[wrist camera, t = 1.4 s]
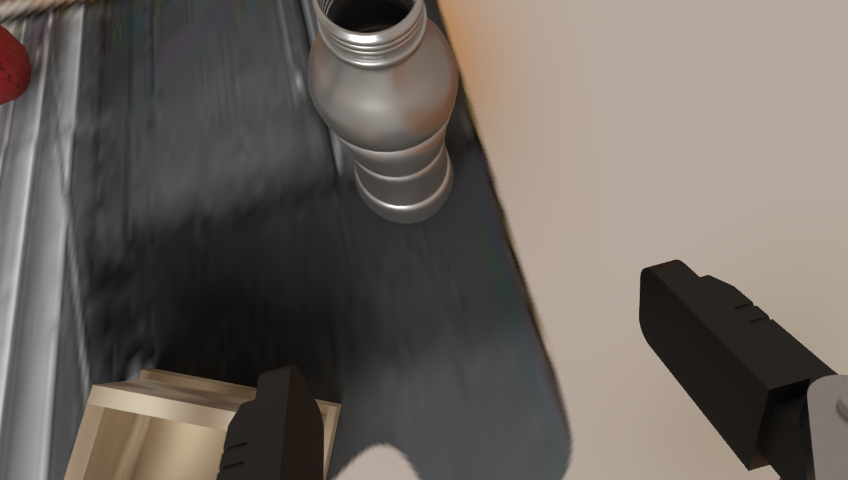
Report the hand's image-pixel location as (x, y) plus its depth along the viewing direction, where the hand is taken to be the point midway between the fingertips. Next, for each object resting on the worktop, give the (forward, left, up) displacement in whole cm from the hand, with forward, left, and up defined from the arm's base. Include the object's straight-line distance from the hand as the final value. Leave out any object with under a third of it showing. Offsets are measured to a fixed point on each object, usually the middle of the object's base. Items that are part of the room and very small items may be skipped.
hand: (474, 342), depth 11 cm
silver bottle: (-5, +11, -22) cm, 25 cm away
